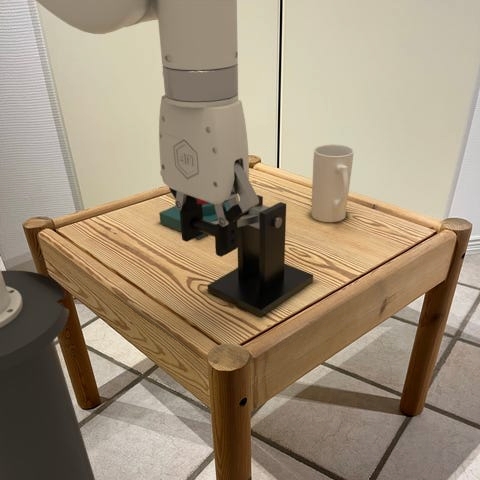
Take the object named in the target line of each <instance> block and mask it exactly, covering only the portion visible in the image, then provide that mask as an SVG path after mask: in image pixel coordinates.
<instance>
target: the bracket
mask: <svg viewBox="0 0 480 480" xmlns="http://www.w3.org/2000/svg"><path fill="white" fill-rule="evenodd" d="M256 195H257V196H258V198H259V203H258V204H257V205H256V206H259V205H264V196H262V195H260V194H256ZM268 207H269V208H267V209H265V210H263V211H261V212H260V213H259V229H258V228H255V227H252V226H249V225H246V226H241V227H237V228H238V247H237V249H236V250H237V267H236V268H234V269H233V270H231V271H230V272H228V273H226V274H224V275H222V276H221V277H219V278H217V279H216V280H214V281H212V282H210V283H208V284H207V293H209V294H211V295H213V296H215V297H218V298H219V299H222V300H223V301H226V302H228V303H230V304H232V305H234V306H236V307H238V308H240V309H242V310H244V311H247V312H249V313H251V314H252V315H255V316H257V317H259V318H263V317H264V316H265V315H267V314H269V313H270V312H271V311H273V310H274V309H276V308H278V306H280V305H281V304H283V303H285V302H286V301H287V300H289V299H290V298H292V297H293V296H294V295H296V294H297V293H299V292H300V291H302V290H303V289H304V288H306V287H307V286H310V284H312V283H313V282H314V274H312V273H310V272H307V271H305V270H303V269H300V268H297V267H295V266H292V265H289V264H287V263H286V230H287V229H286V228H287V227H286V226H287V203H285V202H282V201H279V202H278V203H275V204H273V205H272V206H268ZM248 214H249V210H248V211H247V212H246V213H245V214H244V215H248Z"/></svg>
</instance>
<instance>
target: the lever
mask: <svg viewBox="0 0 480 480" xmlns="http://www.w3.org/2000/svg"><path fill="white" fill-rule="evenodd" d="M269 207H270V206H267V205H264V204H263V205H259V206H254V207H253V208H252V209H250V210H249V214H248V215H243V216H242V218H241V219H239V220H237V227H241V226H246V225H249V226H252V227H255V228H258V229H259V213H260V212H261V211H263V210H265V209H267V208H269ZM218 223H219V222H218V221H213V222H209V221H206V220H203V219H201V218H198V217H194V218H192V220H191V222H190V225H191V227H192V228H193V229H196V230H198V231H201V232H204V233H206V234H209V236H212V237H214V238H215V225H216V224H218Z"/></svg>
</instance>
